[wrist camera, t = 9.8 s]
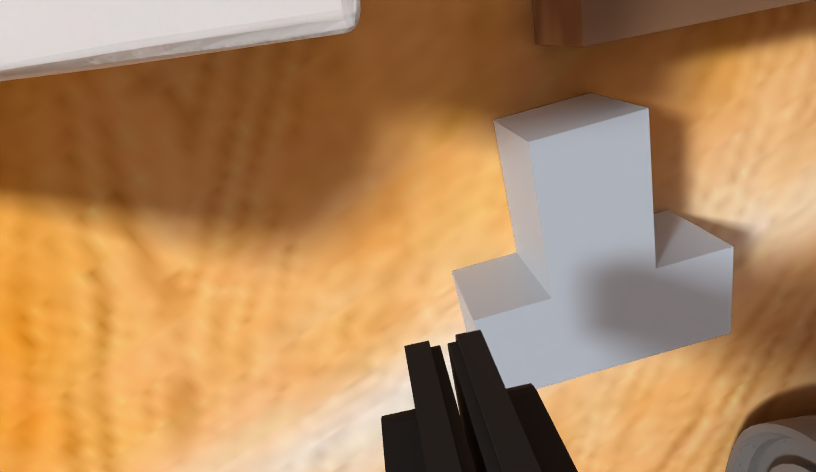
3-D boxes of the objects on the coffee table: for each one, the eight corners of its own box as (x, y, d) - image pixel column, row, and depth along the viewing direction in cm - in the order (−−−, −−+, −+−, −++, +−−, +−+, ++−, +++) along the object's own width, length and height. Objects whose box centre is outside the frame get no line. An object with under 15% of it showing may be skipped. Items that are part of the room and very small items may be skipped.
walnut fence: (932, 294, 25) (1031, 338, 22) (560, 379, 25) (597, 440, 21) (1048, -118, 18) (1224, -155, 15) (531, -15, 18) (580, -27, 14)
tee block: (670, 285, 23) (730, 333, 20) (469, 342, 23) (492, 401, 20) (664, 72, 19) (738, 82, 16) (419, 140, 19) (437, 167, 16)
